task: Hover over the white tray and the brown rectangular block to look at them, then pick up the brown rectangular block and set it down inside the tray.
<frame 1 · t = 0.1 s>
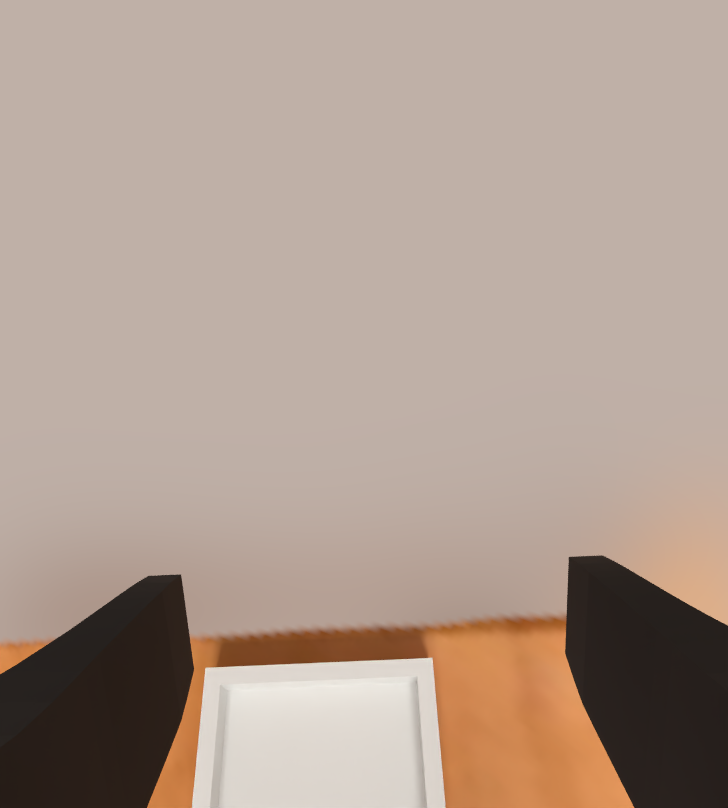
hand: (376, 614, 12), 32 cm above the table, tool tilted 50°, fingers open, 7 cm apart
white tray: (322, 797, 37), on the table
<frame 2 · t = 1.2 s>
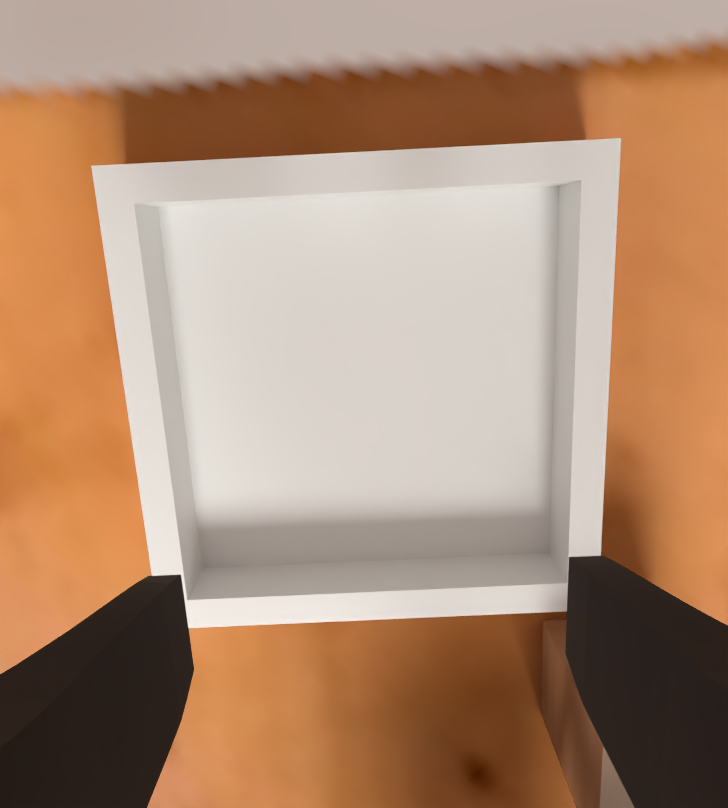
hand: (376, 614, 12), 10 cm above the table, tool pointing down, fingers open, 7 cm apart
brown rectangular block: (595, 664, 24), on the table
white tray: (367, 388, 21), on the table
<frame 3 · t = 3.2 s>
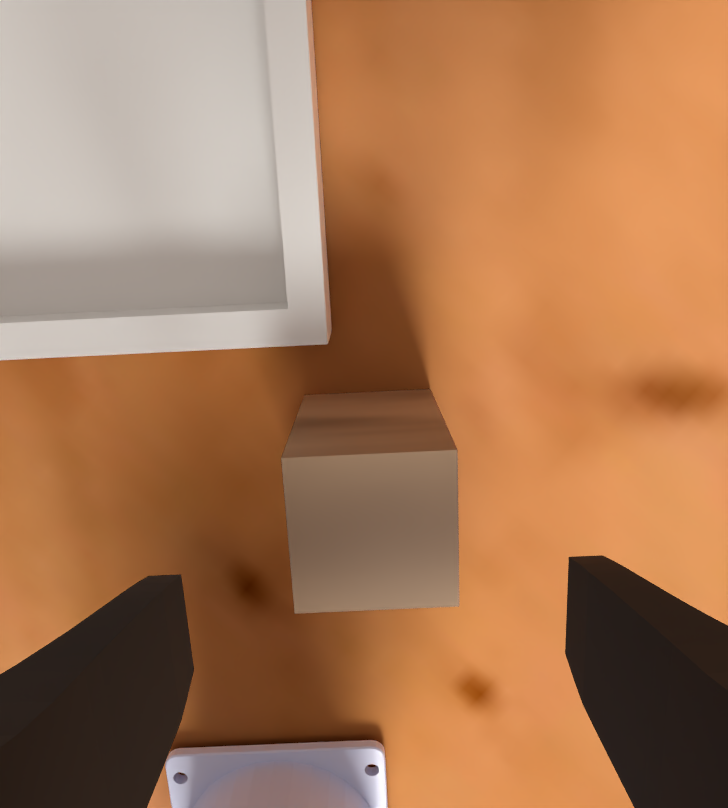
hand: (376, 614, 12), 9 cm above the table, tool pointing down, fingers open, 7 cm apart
brown rectangular block: (370, 451, 21), on the table
white tray: (68, 96, 18), on the table
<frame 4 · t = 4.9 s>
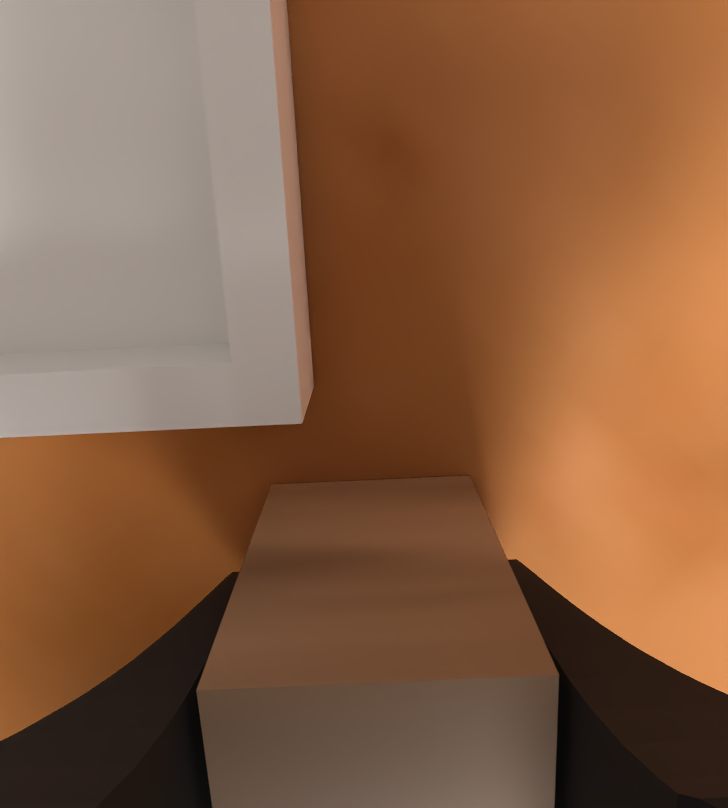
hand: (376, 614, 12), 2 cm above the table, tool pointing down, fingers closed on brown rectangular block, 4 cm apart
brown rectangular block: (374, 569, 13), on the table, touching gripper
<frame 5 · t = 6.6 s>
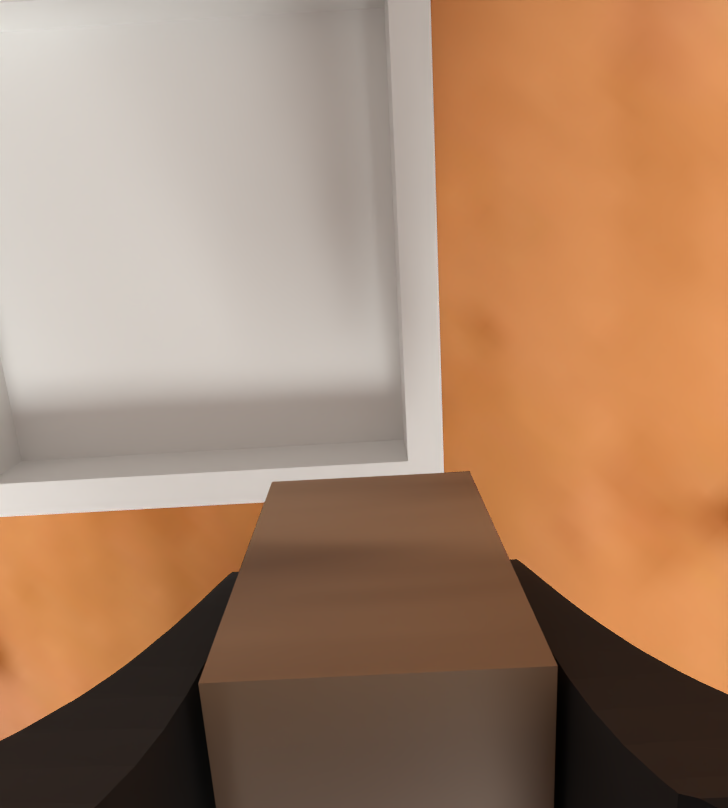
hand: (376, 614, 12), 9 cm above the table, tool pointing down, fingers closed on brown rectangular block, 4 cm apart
brown rectangular block: (375, 565, 13), point 7 cm above the table, touching gripper
white tray: (191, 253, 19), on the table
when the fingers open (3 cm above the table, at t = 8.5 s): brown rectangular block drops 1 cm, resting on white tray.
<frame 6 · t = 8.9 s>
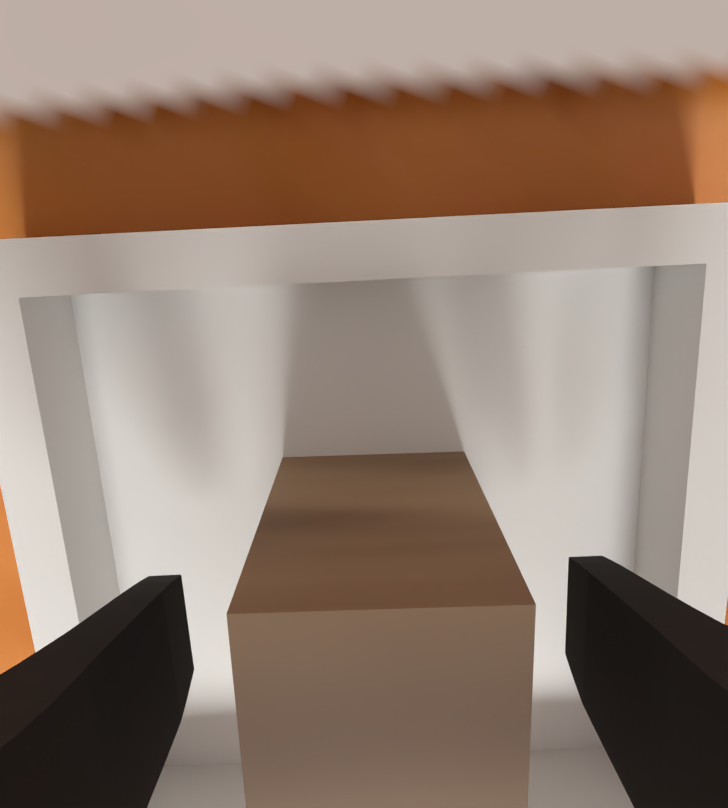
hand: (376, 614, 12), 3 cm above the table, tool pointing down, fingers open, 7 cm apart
brown rectangular block: (375, 537, 15), resting on white tray
white tray: (373, 531, 15), on the table
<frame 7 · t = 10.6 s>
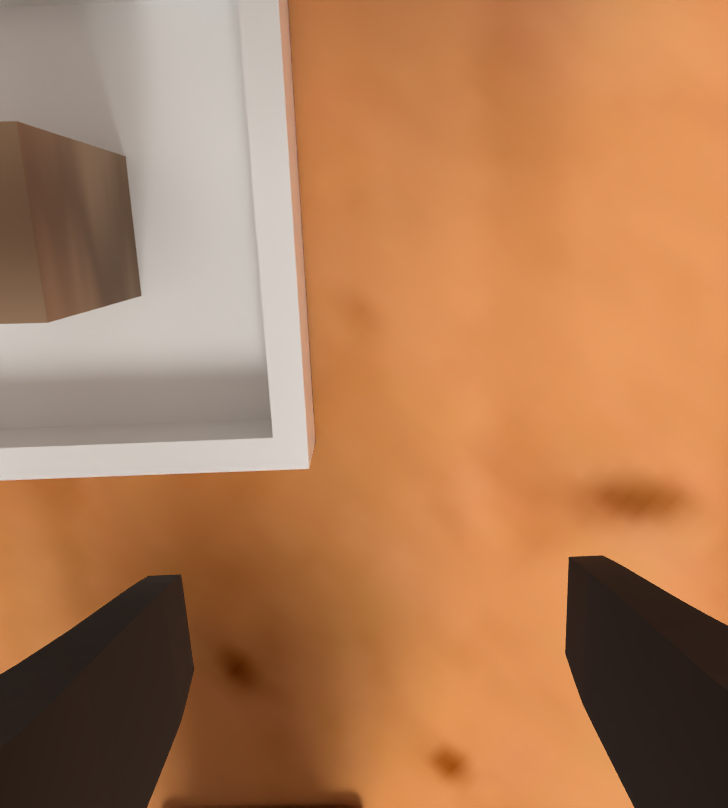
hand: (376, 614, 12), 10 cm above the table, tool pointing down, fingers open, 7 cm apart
brown rectangular block: (66, 229, 19), resting on white tray
white tray: (72, 232, 19), on the table
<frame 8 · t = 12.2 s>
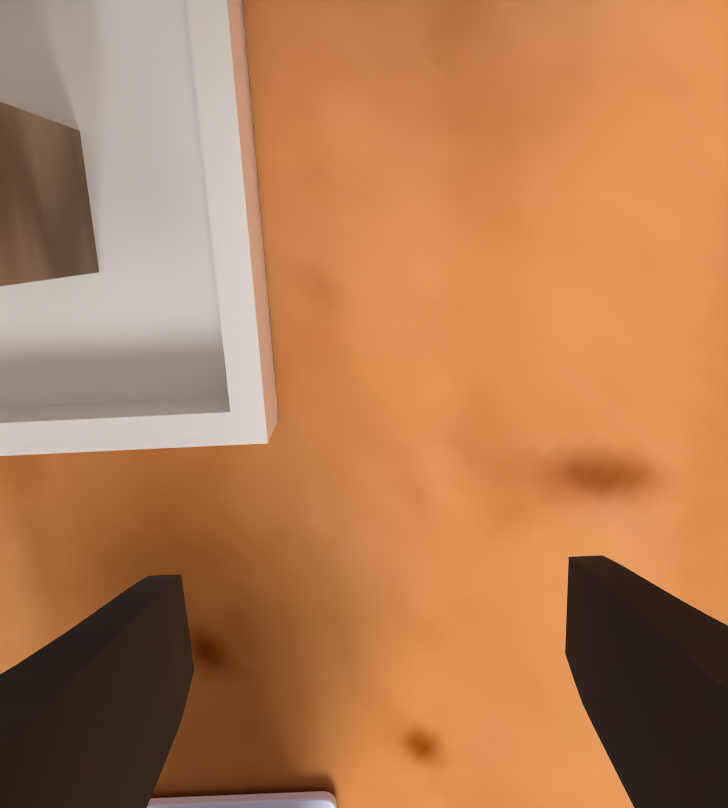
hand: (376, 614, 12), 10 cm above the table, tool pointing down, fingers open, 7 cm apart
brown rectangular block: (22, 205, 19), resting on white tray
white tray: (30, 209, 19), on the table
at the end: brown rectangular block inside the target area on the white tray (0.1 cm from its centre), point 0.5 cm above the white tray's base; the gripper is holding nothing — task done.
